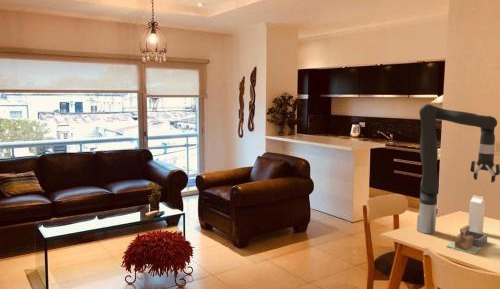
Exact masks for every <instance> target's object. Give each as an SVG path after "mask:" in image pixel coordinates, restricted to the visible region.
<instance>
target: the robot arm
mask: <svg viewBox="0 0 500 289" xmlns="http://www.w3.org/2000/svg"><path fill="white" fill-rule="evenodd" d="M418 113H419V118H420V120H419V121H420V125H421V132H420V140H419V152H420V161H421V165H422V167H421V168H422V177H421V181H420V186H419V187H420V188H419V214H417V222H416V223H417V224H416V231H418V232H420V233H422V234H430V235H431V234H432V235H433V234H435V233H436V224H437V207H438V190H439V180H438V171H437V169H438V168H437V167H438V153H439V152H438V151H439V149H438V139H437V132H436V130H437V129H436V125H437V121H438V120H440V121H446V122H451V123H454V124H458V125H463V126H469V127H477V128H480V137H479V138H480V139H479V140H480V141H479V145H478V146H479V147H478V155H477V156H478V157H477V159H478V160H477V161H476V160H473V161H471V164H470V169H469V170H470V172H472V173H473V179H474V180H478V175H479V173H478V172H479V171H486V172H487V171H488V172H489V173H490V174H491V180H490V182H491V183H495V181H496V177H497V176H499V175H500V163H494V161H495V149H496V148H495V143H496V142H495V141H496V136H495V128H496V127H497V125H498V120H497V119H496V117H494V116H491V115H482V114H481V115H480V114H476V113H472V112H465V111H459V110H451V109H446V108H445V109H444V108H442V107H438V106H436V105H435V106H434V105H433V104H431V103H426V104H423V105H422V106H421V107H420V108H419V111H418ZM436 120H437V121H436ZM476 165H477V166H478V167H477V168H476ZM494 169H495V170H494Z"/></svg>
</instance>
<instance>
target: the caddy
mask: <svg viewBox="0 0 500 289" xmlns="http://www.w3.org/2000/svg"><path fill="white" fill-rule="evenodd" d="M469 229H470V226H468V225H464V226H463V227H461V228H460V229H459V232H460V233H459V234H458V235H456V236H455V238H454V241H455V248H459V249H462V250H466V251H467V250H468V249H470V248H471V247H472V246H473V236H472V235H469ZM465 231H466V234H464V232H465Z"/></svg>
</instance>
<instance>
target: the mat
mask: <svg viewBox="0 0 500 289" xmlns="http://www.w3.org/2000/svg"><path fill="white" fill-rule="evenodd" d="M445 247H447V248H449V249H452V248H453V250H457V251H459V252H464V253H466V254H467V253H468V254H471V255H476V254H477V253H478V252H480V251H482V248H481V247H479V248H478V247H474V246H472V247H471V248H470V249H468V250H467V251H466V250H462V249H459V248H455V240H454V241H452V242H450V243H448V244H447V245H446V246H445Z"/></svg>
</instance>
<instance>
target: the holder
mask: <svg viewBox="0 0 500 289" xmlns="http://www.w3.org/2000/svg"><path fill="white" fill-rule="evenodd" d="M464 234H466V231H465V232H464ZM469 235H472V236H473V246H474V247H478V248H481V247H482V246H484V245H485V244H486V243H488V234H485V233H477V232H473V231H469Z"/></svg>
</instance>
